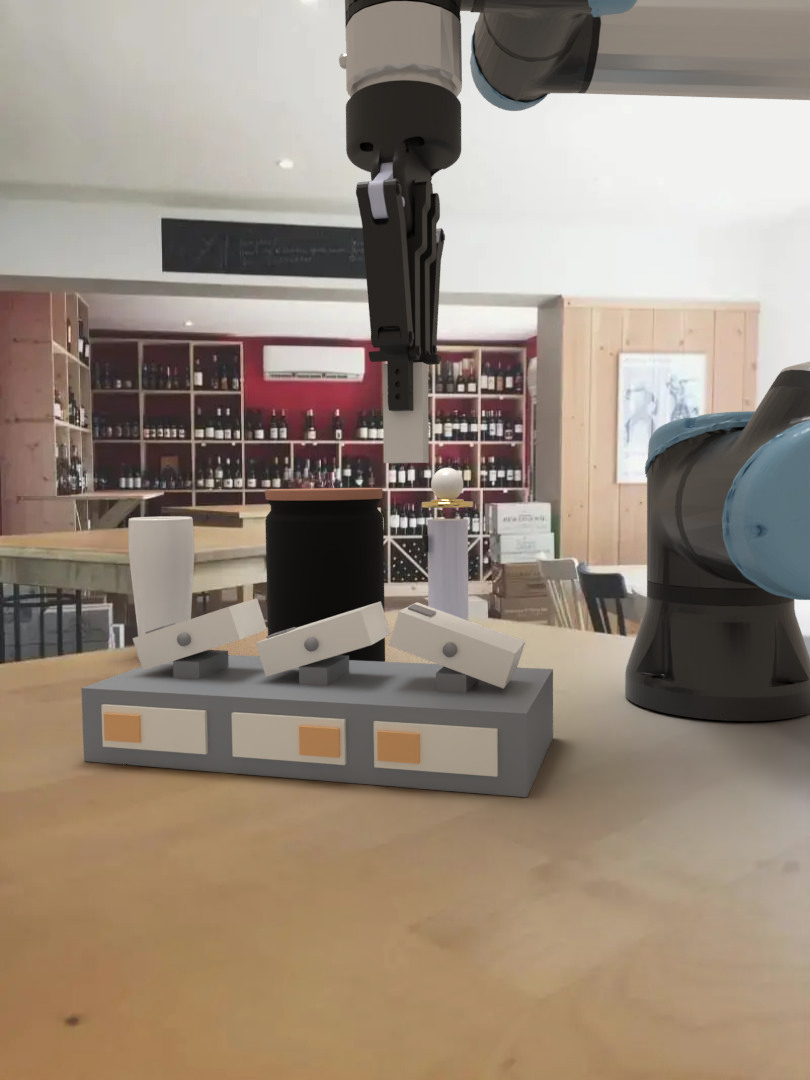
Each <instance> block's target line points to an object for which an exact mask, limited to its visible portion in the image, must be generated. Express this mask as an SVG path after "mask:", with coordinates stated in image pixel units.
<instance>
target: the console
mask: <svg viewBox="0 0 810 1080" xmlns="http://www.w3.org/2000/svg"><path fill="white" fill-rule="evenodd" d="M80 691H81V710H82V711H81V713H82V715H81V716H82V741H83V743H82V745H83V761H84V762H90V763H102V764H117V765H126V764H127V765H128V766H139V767H140V766H141V767H151V768H152V767H153V768H163V769H177V770H188V771H199V772H200V771H201V772H211V773H212V772H213V773H226V774H236V775H237V774H240V775H247V776H248V775H251V776H264V777H273V778H274V777H275V778H276V777H277V778H285V779H286V778H287V779H296V780H298V779H299V780H310V781H321V782H324V781H325V782H335V783H347V784H348V783H349V784H358V785H359V784H360V785H373V786H384V787H385V786H386V787H397V788H406V789H407V788H409V789H420V790H430V791H431V790H435V791H444V792H445V791H446V792H456V793H457V792H459V793H470V794H480V795H481V794H482V795H483V794H484V795H494V796H505V797H506V796H507V797H508V796H509V797H519V798H520V797H521V798H527V797H529V796H528V795H529V793H530V791H531V789H532V786H533V784H534V782H535V780H536V777H537V776H538V773H539V771H540V768H541V766H542V763H543V761H544V759H545V756H546V755H547V752H548V750H549V747H550V746H551V744H552V741H553V739H554V669H553V668H537V667H536V668H535V667H517V670H516V673H515V675H514V676H513V677H512V679H511V680H510V681H509V683H508V684H507V685H506V686H505V688H504V689H503V688H501V687H498V686H495V685H493V684H490V683H487V682H485V681H482V680H479V679H477V678H474V677H471V676H469V675H466V674H463V673H461V672H458V671H455V670H453V669H450V668H447V667H444V666H442V665H439V664H436V663H423V662H422V663H419V662H401V661H400V662H399V661H398V662H397V661H385V662H379V661H356V660H349V656H343V655H337V656H333V657H330V658H327V659H323V660H320V661H317V662H313V663H310V664H307V665H303V666H300V667H297V668H293V669H290V670H287V671H283V672H280V673H277V674H273V675H270V676H267V677H266V675H265V672H264V669H263V666H262V663H261V659H260V656H259V655H243V654H242V655H240V654H238V655H235V654H229V650H226V649H225V650H224V649H223V650H220V649H209V650H206V651H203V652H200V653H197V654H193V655H190V656H187V657H184V658H181V659H178V660H174V661H171V662H168V663H165V664H162V665H159V666H155V667H152V668H149V669H146V670H142V667H141V666H139V667H136V668H134V669H131V670H128V671H125V672H122V673H119V674H117V675H112V677H108V678H106V679H102V680H100V681H98V682H97V681H96V682H95V683H92V684H89V685H87V686H83V687H81V690H80Z"/></svg>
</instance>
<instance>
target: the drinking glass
mask: <svg viewBox="0 0 810 1080" xmlns="http://www.w3.org/2000/svg"><path fill="white" fill-rule="evenodd" d="M127 530H128V533H127V535H128V536H127V537H128V539H127V540H128V558H129V560H128V561H129V567H130V568H129V570H130V579H131V585H132V594H133V601H134V602H133V603H134V612H135V618H136V628H137V637H138V636H141V635H144V634H146V633H145V632H147V631H151V630H154V629H157V628H160V627H163V626H166V625H169V624H173V623H175V624H178V623H181V622H184V621H187V620H190V619H192V604H193V603H192V600H193V585H194V568H195V533H194V531H195V530H194V521H193V517H192V516H179V515H178V516H174V515H173V516H142V517H141V516H139V517H130V518H128V529H127Z"/></svg>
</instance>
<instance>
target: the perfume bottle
mask: <svg viewBox="0 0 810 1080" xmlns="http://www.w3.org/2000/svg"><path fill="white" fill-rule="evenodd" d="M430 486H431V491H432V492H433V494H434V496H435V497H436V498H438V499H436V498H435V499H431V500H430V501H422V502H421V508H427V509H428V508H431V509H434V508H437V509H439V508H440V509H442V508H443V509H446V508H447V509H448V508H454V509H455V508H473V507H474V501H467V500H466V501H464V498H462V499H461V498H459V499H458V497H459V496H460V495H461V493H462V492H463V489H464V479H463V477H462V475H461V473H460V472H459V471H458V470H456V469H455V468H452V467H443V468H440V469H439V470H437V471H436V472H435V473H434V474H433V476H432V478H431V482H430ZM468 522H469V519H467V518H433V519H427V526H426V524H425V525H424V528H423V531H422V534H421V535H422V536H421V537H422V538H421V541H422V542H421V543H422V547H421V548H422V549H421V550H422V551H421V552H422V557H423V553H424V555H425V560H427V591H428V592H427V597H428V605H427V606H429V607H431V608H434V609H437V610H440V611H443V612H445V613H448V614H451V615H454V616H457V617H459V618H462V619H465V620H468V621H470V620H469V619H470V617H469V614H470V613H469V523H468ZM426 527H427V530H426V531H425V529H426ZM424 532H425V533H424Z"/></svg>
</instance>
